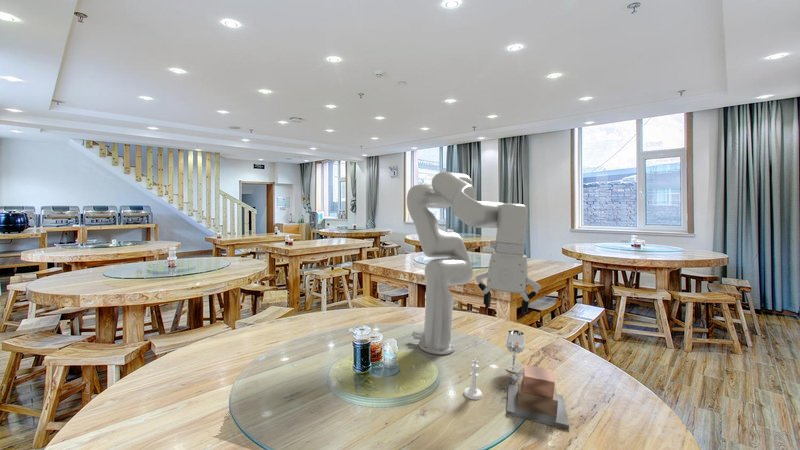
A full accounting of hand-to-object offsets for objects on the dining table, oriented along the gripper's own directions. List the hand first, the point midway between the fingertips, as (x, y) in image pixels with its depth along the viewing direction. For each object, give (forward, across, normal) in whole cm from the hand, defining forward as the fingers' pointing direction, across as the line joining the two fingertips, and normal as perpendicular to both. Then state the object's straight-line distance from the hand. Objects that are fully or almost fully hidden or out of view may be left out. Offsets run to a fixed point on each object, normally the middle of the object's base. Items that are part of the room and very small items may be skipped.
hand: (504, 310), depth 98 cm
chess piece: (+23, -6, -6) cm, 24 cm away
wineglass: (+23, +1, +15) cm, 27 cm away
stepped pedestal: (+22, +10, -3) cm, 25 cm away
